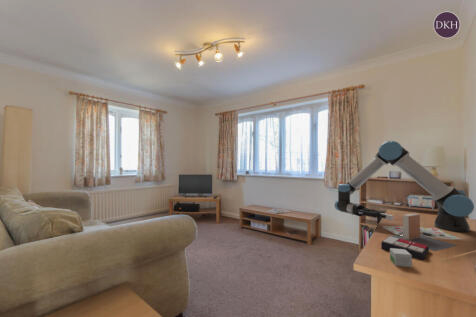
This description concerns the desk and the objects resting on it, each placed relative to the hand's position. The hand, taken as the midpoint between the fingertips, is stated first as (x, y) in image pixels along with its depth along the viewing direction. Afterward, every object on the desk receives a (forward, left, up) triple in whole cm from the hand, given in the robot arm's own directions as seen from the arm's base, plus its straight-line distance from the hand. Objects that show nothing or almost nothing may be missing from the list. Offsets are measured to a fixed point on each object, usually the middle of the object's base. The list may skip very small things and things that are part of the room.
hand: (392, 218), depth 121 cm
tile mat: (0, +14, -8) cm, 16 cm away
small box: (+34, +26, -9) cm, 43 cm away
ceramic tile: (0, +10, -8) cm, 12 cm away
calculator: (+19, +18, -9) cm, 28 cm away
